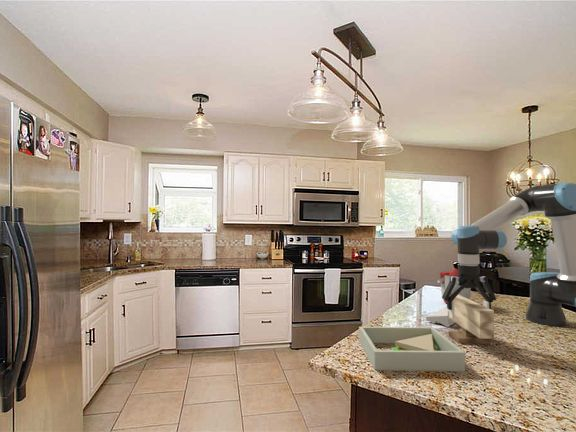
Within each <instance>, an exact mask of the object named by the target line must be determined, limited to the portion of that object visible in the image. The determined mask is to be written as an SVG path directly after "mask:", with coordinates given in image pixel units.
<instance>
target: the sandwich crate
mask: <svg viewBox="0 0 576 432" xmlns="http://www.w3.org/2000/svg"><path fill="white" fill-rule="evenodd" d="M428 334H432V340H433V343H434V344H435V345H436V346H438V347H437V350H436V351H404V350H393V349H391V350H386V349H385V350H382V349H379V350H378V349H377V347H376V346H375V344H395V341H400V340H404V339H409V338H414V337H418V336H423V335H428ZM358 342H359V344H360V347H361V348H362V350H363V352H364V353H365V356H366V357H367V359H368V360H369V361H368V362H370V364H371V366H372V368H373V370H374V371H410V372H411V371H413V372H414V371H416V372H417V371H419V372H423V371H424V372H426V371H429V372H466V351H465V350H463V349H462V348H460V347H459V346H457V345H456V344H455V343H453V342H452V341H451V340H450V339H448V338H447V337H446V336H444V335H443V334H442V333H440V332H439V331H438V330H437V329H436V328H434V327H433V326H431V327H429V326H423V327H422V326H358Z"/></svg>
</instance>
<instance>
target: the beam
mask: <svg viewBox="0 0 576 432" xmlns="http://www.w3.org/2000/svg"><path fill="white" fill-rule="evenodd" d="M453 302H454V315H455V319H452V318H450V317H449V309H448V318H449V319H451V320H452V321H454V322H455V323H454V324H457V325H459V326H460V328H461V327H463V328H465V329H466V330H468V331H469V332H471V333H472V334H474V335H475V336H477V337H479V338H487V339H490V340H491V339H492V340H493V339H495V311H494V309H492V308H491V309H489V308H487V307H485V306H483V304H481V303H478V302H476V301H473V300H471V299H470V298H469V299H467V298H465V297H463V296H461V295H457V296H456V297H455V299H454V300H453Z"/></svg>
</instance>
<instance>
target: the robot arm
mask: <svg viewBox="0 0 576 432" xmlns="http://www.w3.org/2000/svg"><path fill="white" fill-rule="evenodd" d="M533 212H544V216H545V218H547V219H548V220H550V224H551V230H552V235H553V239H554V240H553V241H554V245H555V251H556V257H557V260H558V267H559V272H552V271H551V272H547V271H546V272H543V271H542V272H532V273H531V274H530V276H529V304H528V307H527V309H526V312H525V319H526V320H527V321H530V322H531V323H535V324H540V325H544V326H545V325H546V326H552V327H565V326H568V325H567V321H568V320H567V318H566V315H565V311H564V309H563V307H562V304H563V305H567V306H570V307H574V308H576V183H573V182H559V183H550V184H542V185H541V184H540V185H534V186H531V187H529V188H526V189H524V190H522V191H520V192H518V193H517V194H515V195H513V196H512V197H510V198H509V199H508V200H507V202H506V203H504V204H503V205H501V206H499V207H498V208H496V209H495V210H493V211H491V212H490V213H488V214H486V215H485V216H484V215H483V217H481V218H479V219H478V220H476V221H475V222H473V223H471V224H470V225H460V226H458V227H457V229H455V230H453V232H452V233H451V235H450V238H451V241H452V243H453V244H454V245H456V246H457V263H458V265H457V270H458V277H453V276H450V282H449V284H448V286H447V288H446V290H445V292H444V294H443V296H441V299H442V300H443V299H444V300H446V301H447V303H446V307H447V309H449V317H450V318H452V319H455V315H454V302H453V300H454V299H455V297H456V296H457V295H458V294H459V293H460V291H461V290H463V289H464V288H471V289H475V290H476V291H477V292H478V293H479V294H480V296H482V298H483V299H484V300H482V305H483V306H485V307H487V308H489V309H491V310H492V303H493V302H494V301H497V297H496V295H495V293H494V291H493V289H492V287H491V285H490V283H489V280H488V279H489V278H488V277H487V276H484V275H482V276H480V263H481V262H480V250H498V249H503V248H504V247H506V245H507V244H508V243H507V242H508V239H507V238H508V237H507V235H506V234H505V233H504V231H502V230H498V229H499V228H501V227H503V226H504V225H506V224H507V223H510V222H512V221H513V220H515V219H516V218H518V217H519V216H523V217H524V216H526V215H527V214H530V213H533ZM457 280H458V281H459V283H458V284H457V286H456V288H455V289H454V290H453V288H454V286H455V283H456V282H457ZM480 282H481V284H482V286H483V288H484V289H483V288H482V286H481V285H480V284H479V283H480ZM452 290H453V291H452ZM444 300H443V301H444Z"/></svg>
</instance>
